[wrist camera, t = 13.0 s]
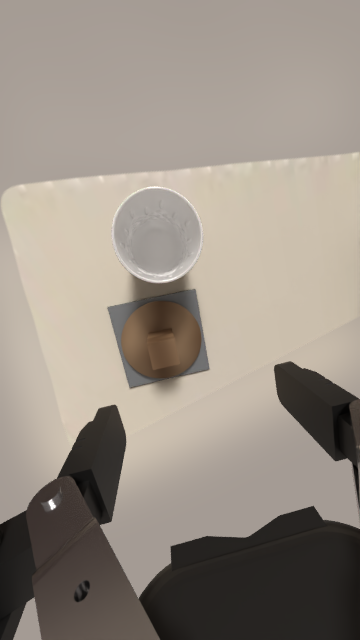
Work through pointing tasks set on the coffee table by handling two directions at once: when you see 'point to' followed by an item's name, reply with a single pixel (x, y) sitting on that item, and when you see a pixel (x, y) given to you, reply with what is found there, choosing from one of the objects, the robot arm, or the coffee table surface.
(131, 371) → the mat
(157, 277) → the white cup
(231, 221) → the coffee table surface
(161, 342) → the lid
